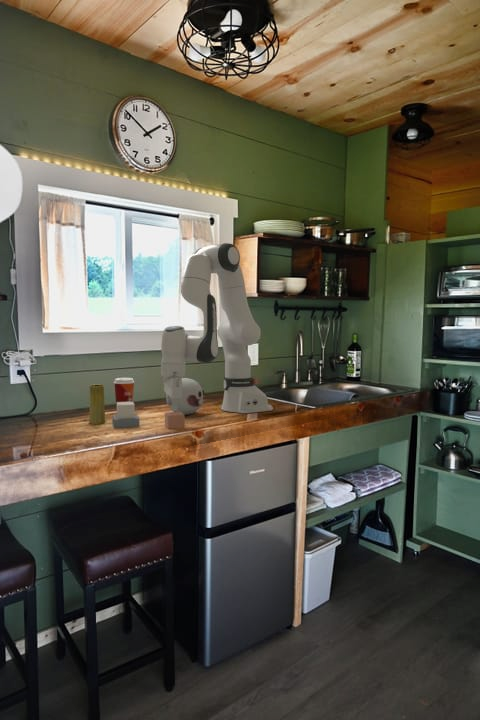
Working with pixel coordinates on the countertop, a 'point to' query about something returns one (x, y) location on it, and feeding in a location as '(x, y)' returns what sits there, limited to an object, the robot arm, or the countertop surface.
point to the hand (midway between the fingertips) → (172, 408)
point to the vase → (97, 404)
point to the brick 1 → (125, 410)
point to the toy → (189, 397)
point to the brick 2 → (174, 420)
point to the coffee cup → (124, 390)
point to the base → (125, 421)
